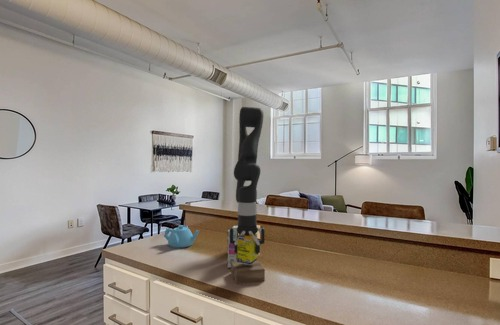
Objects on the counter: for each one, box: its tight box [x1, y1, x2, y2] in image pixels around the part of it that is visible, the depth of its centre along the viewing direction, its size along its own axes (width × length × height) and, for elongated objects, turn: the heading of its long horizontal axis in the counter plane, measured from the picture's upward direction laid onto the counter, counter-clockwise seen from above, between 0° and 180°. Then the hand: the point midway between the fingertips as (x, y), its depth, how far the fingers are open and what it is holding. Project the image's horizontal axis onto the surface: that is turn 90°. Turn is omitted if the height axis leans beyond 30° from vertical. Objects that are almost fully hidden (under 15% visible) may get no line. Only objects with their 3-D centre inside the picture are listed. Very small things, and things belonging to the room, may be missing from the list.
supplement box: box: [237, 233, 258, 265], centre depth 117 cm, size 6×6×11 cm
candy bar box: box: [226, 225, 239, 269], centre depth 131 cm, size 11×5×16 cm, turn 168°
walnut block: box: [230, 259, 266, 285], centre depth 117 cm, size 11×11×5 cm
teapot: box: [163, 224, 200, 249], centre depth 162 cm, size 15×15×11 cm
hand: (247, 253), depth 117 cm, fingers closed on supplement box, 7 cm apart
